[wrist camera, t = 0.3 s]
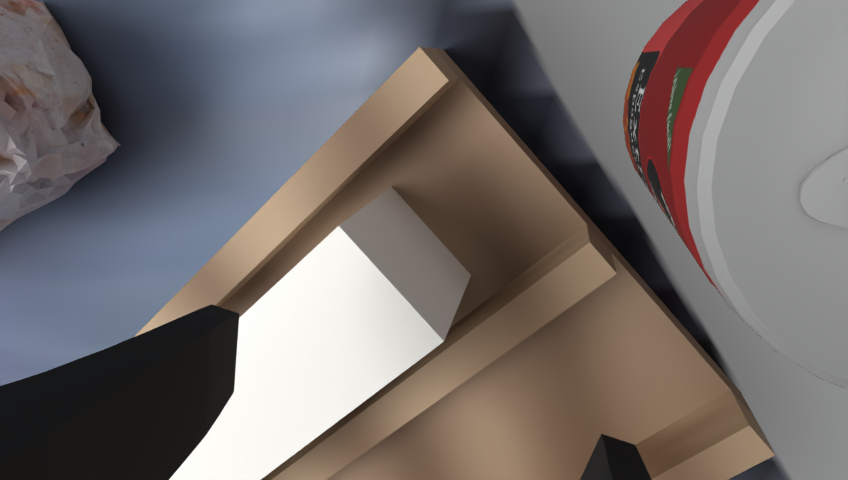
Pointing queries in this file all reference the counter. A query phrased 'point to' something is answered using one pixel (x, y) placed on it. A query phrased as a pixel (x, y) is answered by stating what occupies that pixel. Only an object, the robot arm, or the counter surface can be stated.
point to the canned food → (755, 161)
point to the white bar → (331, 338)
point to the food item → (43, 112)
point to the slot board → (489, 309)
